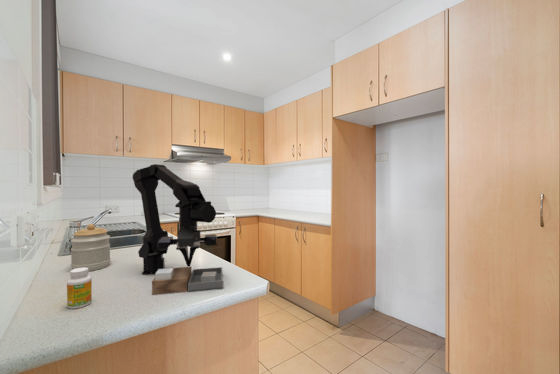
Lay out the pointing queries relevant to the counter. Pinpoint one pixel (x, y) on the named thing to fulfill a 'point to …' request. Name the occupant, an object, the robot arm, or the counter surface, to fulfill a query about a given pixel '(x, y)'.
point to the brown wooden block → (173, 282)
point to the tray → (196, 282)
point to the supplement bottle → (79, 288)
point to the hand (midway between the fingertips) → (188, 266)
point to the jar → (90, 248)
